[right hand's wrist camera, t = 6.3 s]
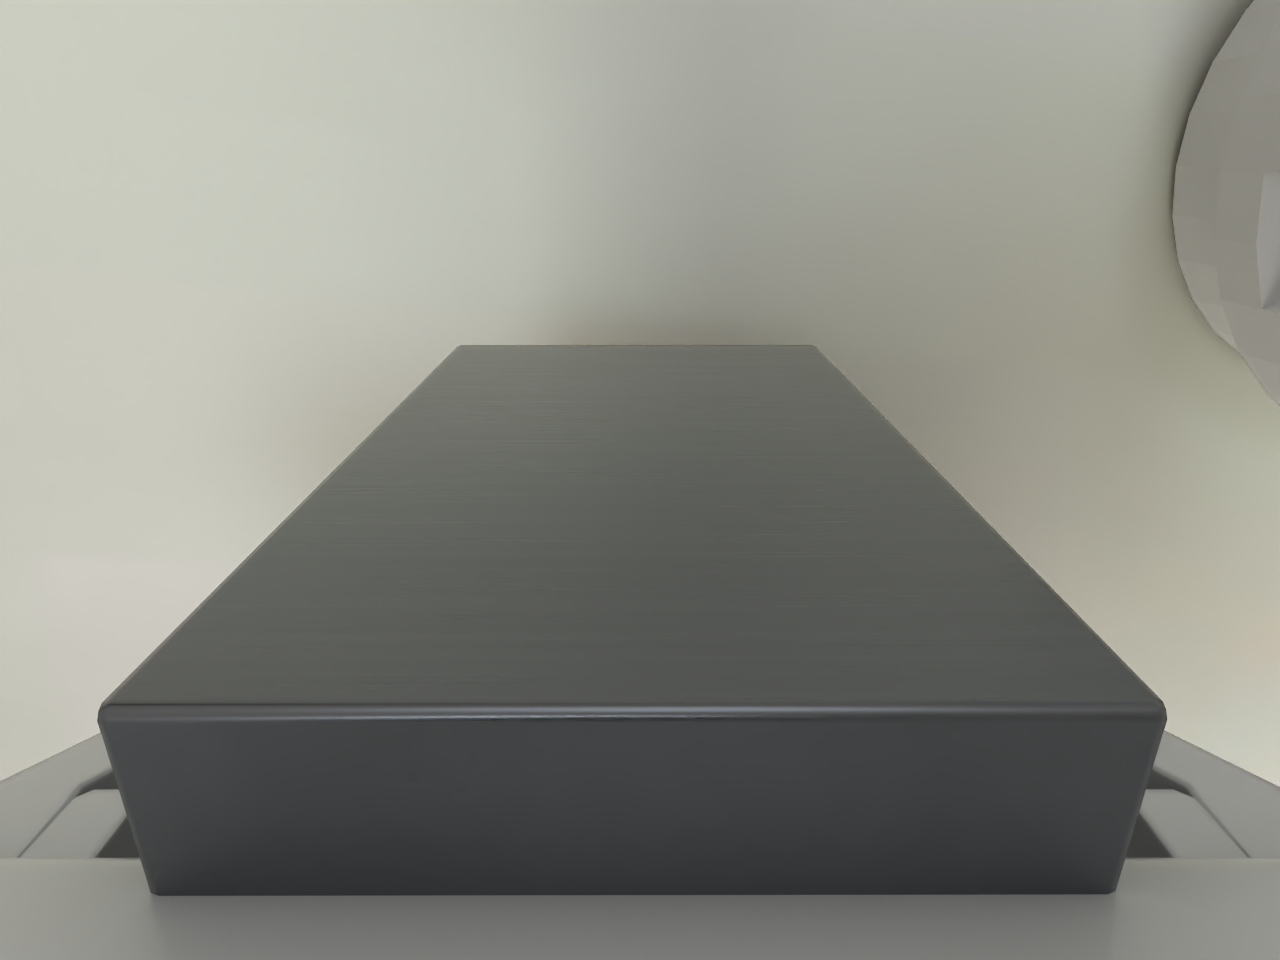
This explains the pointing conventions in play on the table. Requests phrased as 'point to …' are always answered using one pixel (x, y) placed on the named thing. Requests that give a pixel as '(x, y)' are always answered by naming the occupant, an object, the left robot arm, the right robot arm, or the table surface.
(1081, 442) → the table surface
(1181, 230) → the flag stand
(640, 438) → the box
